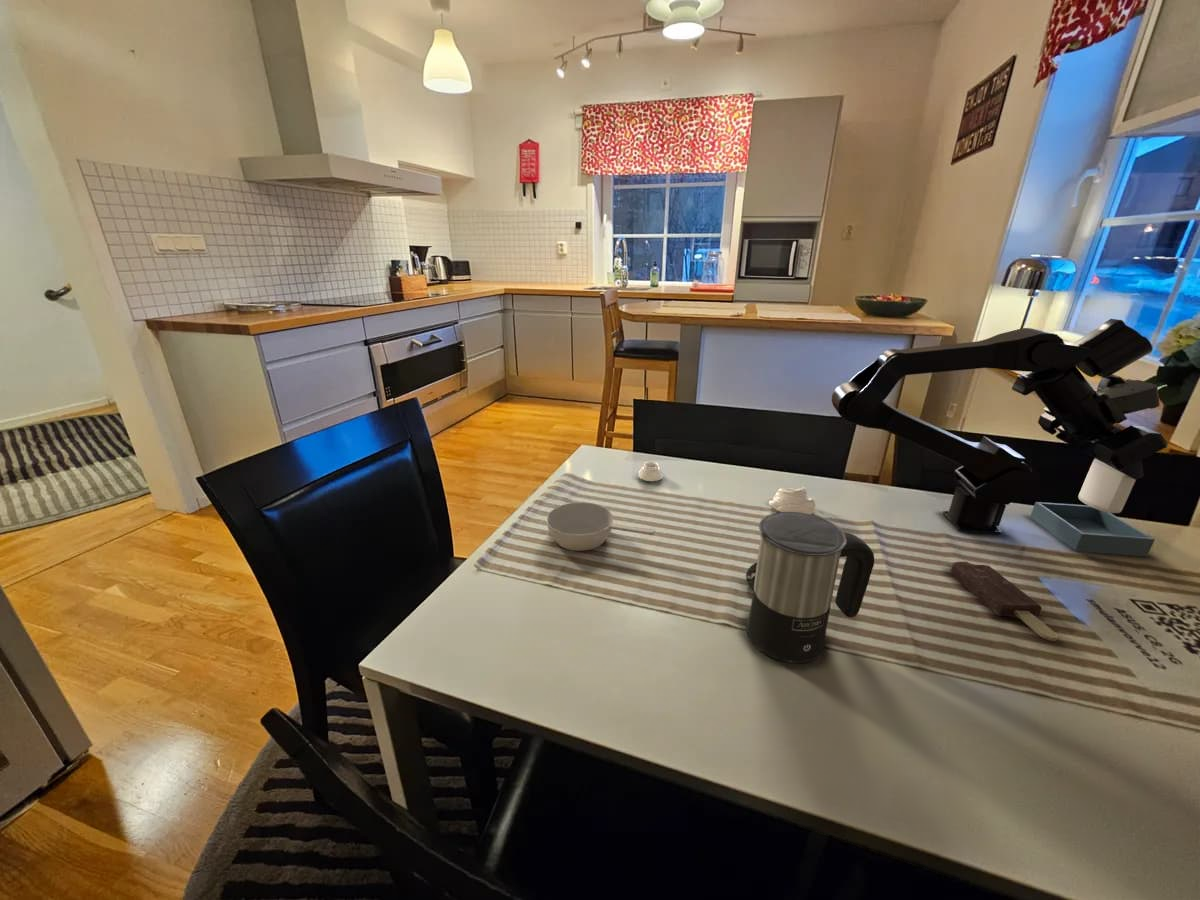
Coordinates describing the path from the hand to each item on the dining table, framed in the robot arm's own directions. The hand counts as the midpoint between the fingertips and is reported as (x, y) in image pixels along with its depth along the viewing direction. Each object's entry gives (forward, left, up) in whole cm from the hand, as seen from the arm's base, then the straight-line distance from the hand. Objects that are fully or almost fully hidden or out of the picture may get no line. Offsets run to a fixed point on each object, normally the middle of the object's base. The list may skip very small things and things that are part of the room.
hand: (1124, 470), depth 77 cm
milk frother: (-56, -28, -12) cm, 64 cm away
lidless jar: (-75, +12, -12) cm, 77 cm away
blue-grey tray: (-1, +1, -12) cm, 12 cm away
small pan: (-81, -14, -12) cm, 83 cm away
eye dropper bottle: (-1, 0, -7) cm, 7 cm away
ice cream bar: (-26, -21, -12) cm, 35 cm away
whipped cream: (-48, +2, -12) cm, 50 cm away
